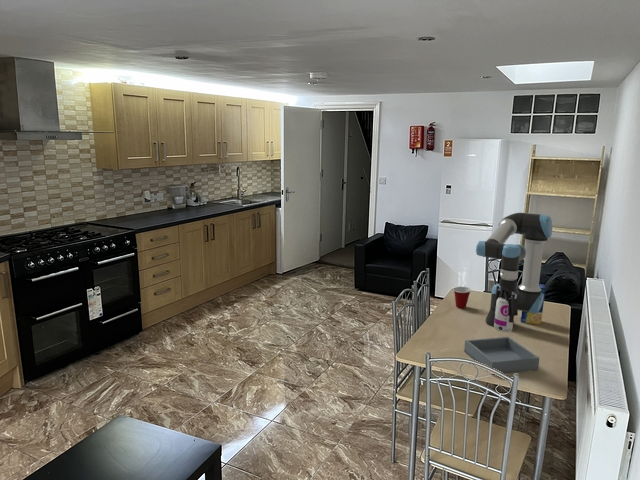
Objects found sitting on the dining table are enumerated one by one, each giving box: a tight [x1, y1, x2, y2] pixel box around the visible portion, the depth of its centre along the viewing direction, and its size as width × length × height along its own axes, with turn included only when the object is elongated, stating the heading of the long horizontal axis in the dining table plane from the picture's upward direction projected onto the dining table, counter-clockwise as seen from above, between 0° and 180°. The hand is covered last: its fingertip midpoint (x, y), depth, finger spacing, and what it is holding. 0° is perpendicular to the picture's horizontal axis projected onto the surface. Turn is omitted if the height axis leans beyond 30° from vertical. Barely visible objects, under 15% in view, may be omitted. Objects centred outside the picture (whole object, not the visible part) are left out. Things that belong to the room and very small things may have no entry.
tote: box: [463, 336, 540, 374], centre depth 230 cm, size 24×24×6 cm
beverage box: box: [519, 283, 546, 325], centre depth 279 cm, size 7×11×22 cm, turn 72°
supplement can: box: [493, 297, 514, 333], centre depth 226 cm, size 8×8×15 cm
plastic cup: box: [452, 286, 472, 309], centre depth 301 cm, size 11×11×12 cm
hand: (503, 324), depth 227 cm, fingers closed on supplement can, 8 cm apart
